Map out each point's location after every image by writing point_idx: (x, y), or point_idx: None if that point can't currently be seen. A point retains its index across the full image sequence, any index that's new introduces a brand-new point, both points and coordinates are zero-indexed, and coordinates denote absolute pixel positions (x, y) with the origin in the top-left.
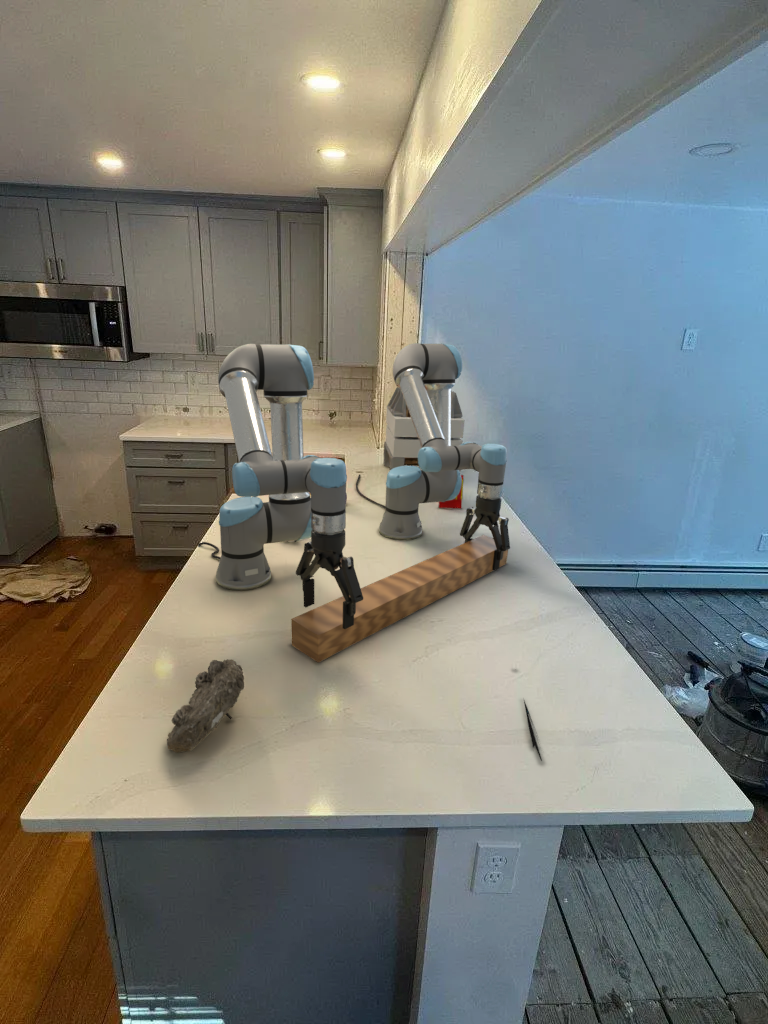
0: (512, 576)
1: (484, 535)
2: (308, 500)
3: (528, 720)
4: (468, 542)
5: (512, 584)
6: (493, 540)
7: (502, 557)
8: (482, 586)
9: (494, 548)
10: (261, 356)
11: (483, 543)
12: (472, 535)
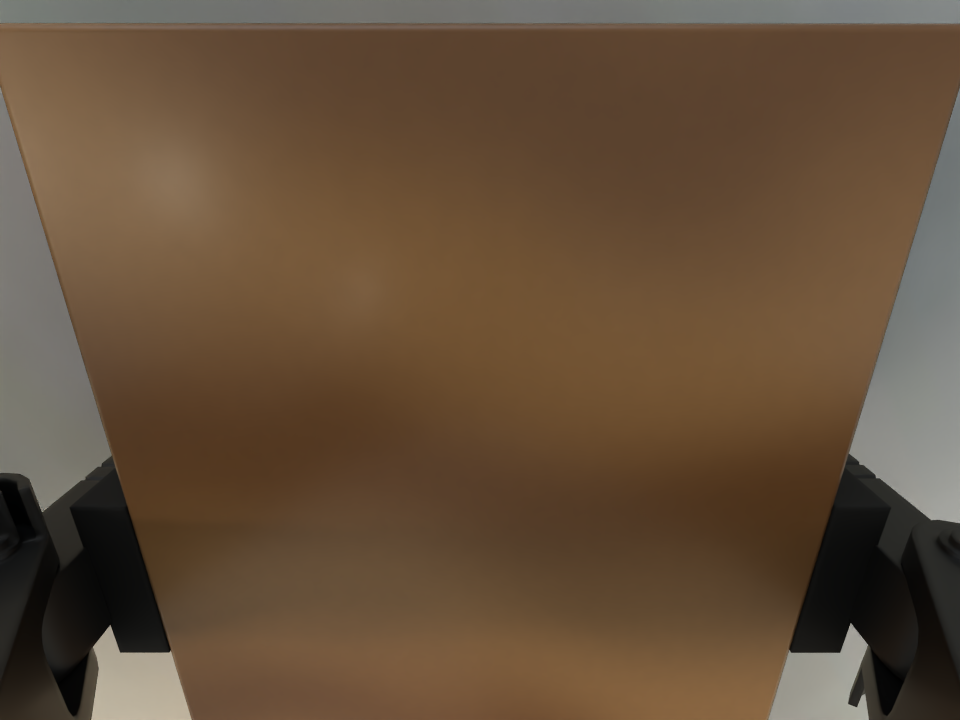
0: (886, 367)
1: (61, 78)
2: None
3: None
4: (223, 700)
5: (936, 511)
6: (496, 215)
7: (848, 460)
8: None
9: (755, 593)
10: None
11: (441, 551)
12: (38, 594)
